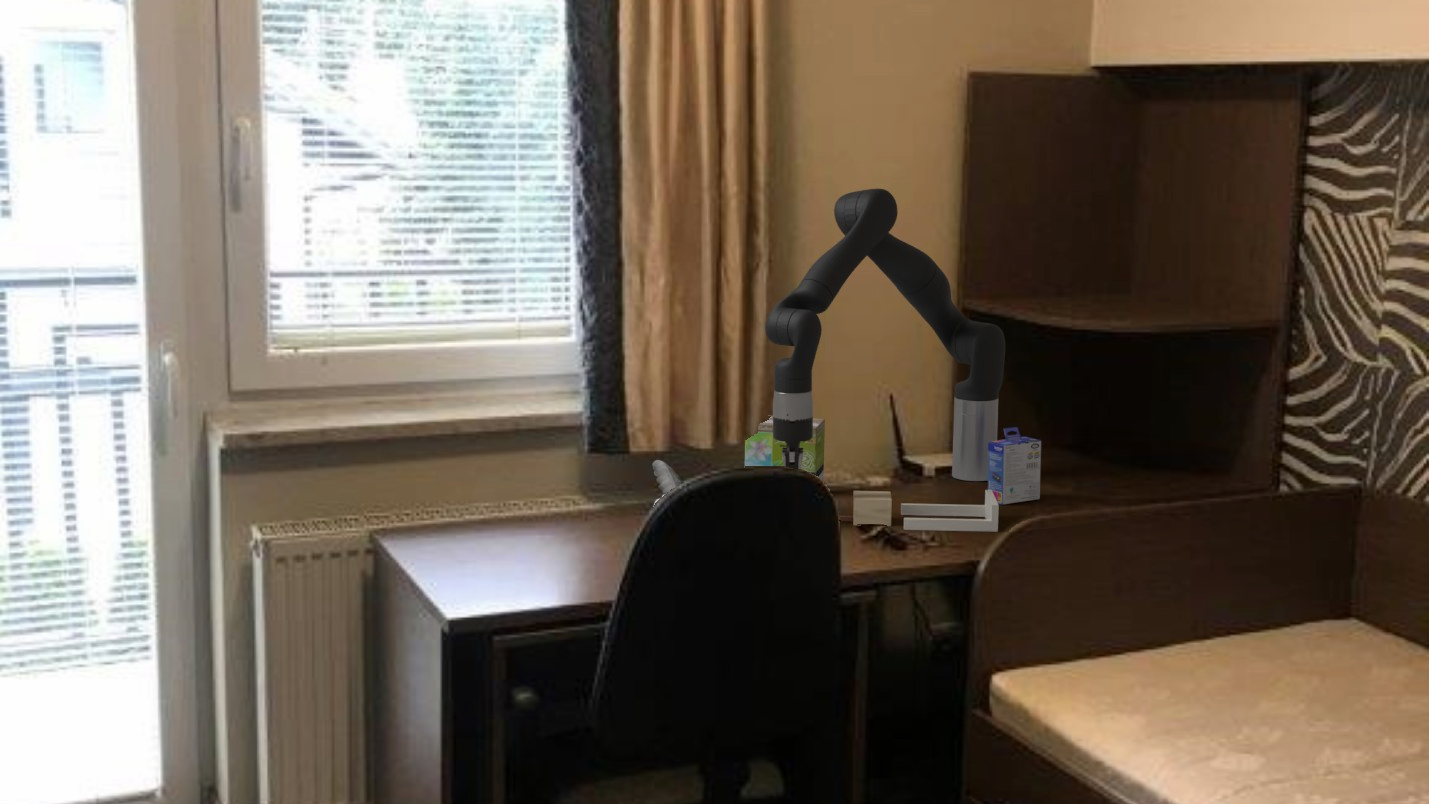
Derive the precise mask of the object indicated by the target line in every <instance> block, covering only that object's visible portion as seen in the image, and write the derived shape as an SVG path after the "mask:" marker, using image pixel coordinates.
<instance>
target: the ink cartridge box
mask: <svg viewBox="0 0 1429 804" xmlns="http://www.w3.org/2000/svg"><path fill="white" fill-rule="evenodd" d="M1002 430H1003V433H1004V438H1005V439H999V440H998V439H997V441H990V442H988V481H987V490H992V492H993V494H994V496H995V498H996V501H997V503H998V505H1011V504H1015V503H1023V502H1029V501H1035V500H1040V498H1041V465H1042V464H1041V461H1042V460H1041V459H1042V457H1041V456H1042V455H1041V454H1042V440H1041V439H1037V438H1034V437H1031V436H1030V437H1028V436H1021V433H1020V431H1019V428H1018V427H1017V426H1014V427H1005V428H1003V429H1002ZM1009 432H1015V433H1016V434H1008V433H1009Z"/></svg>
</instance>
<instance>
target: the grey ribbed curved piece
mask: <svg viewBox="0 0 1429 804" xmlns="http://www.w3.org/2000/svg"><path fill="white" fill-rule="evenodd" d="M651 464H652V469H653V470H654V471H653V474H654V476H655V477H656V483H658V484H659V485H658V486H657V487H658V489H660V490H661V492H662V496H661V497H660V498H662V497H663V496H664V495H666V494H667V492H670V490H671V489H673V488H675V487H677V486H678V485H679V484H682V483H684V482H683V481H682V478H681V477H680V476H679V474H677V473H676V471H675V470H674V469H673V468H672V467H671V466H669V465H668V463H666V462H665V461H664V460H660V459H656V460H654V461H653V462H652V463H651ZM660 498H657V499H655V501H654V503H653V506H654V505H655V503H656V502H657V501H658V500H659V499H660Z"/></svg>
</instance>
